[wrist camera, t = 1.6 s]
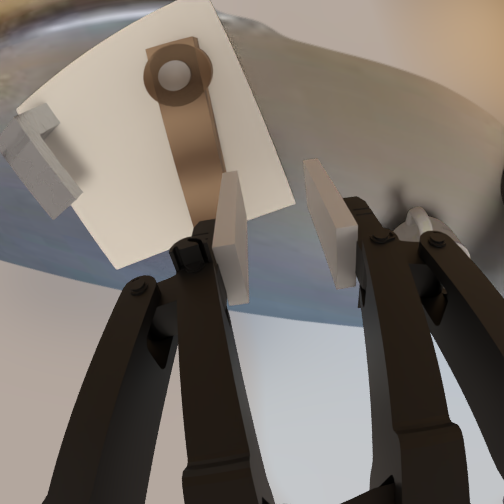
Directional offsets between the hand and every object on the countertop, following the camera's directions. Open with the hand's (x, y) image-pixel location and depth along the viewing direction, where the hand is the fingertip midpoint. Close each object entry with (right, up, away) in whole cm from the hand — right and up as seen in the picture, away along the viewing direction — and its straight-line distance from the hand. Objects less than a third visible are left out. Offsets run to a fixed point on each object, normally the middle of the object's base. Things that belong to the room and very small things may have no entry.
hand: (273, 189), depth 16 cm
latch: (-6, +7, +13) cm, 16 cm away
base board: (-12, +8, +14) cm, 20 cm away
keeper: (-22, +9, +13) cm, 27 cm away
